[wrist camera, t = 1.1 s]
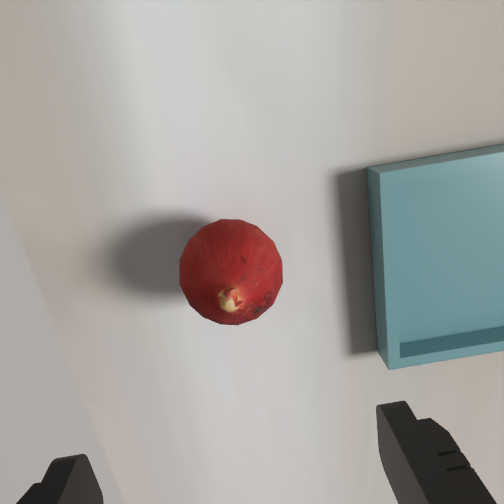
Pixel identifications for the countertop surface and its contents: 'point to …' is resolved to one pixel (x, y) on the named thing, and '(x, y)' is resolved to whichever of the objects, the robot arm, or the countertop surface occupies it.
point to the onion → (230, 272)
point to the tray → (438, 256)
